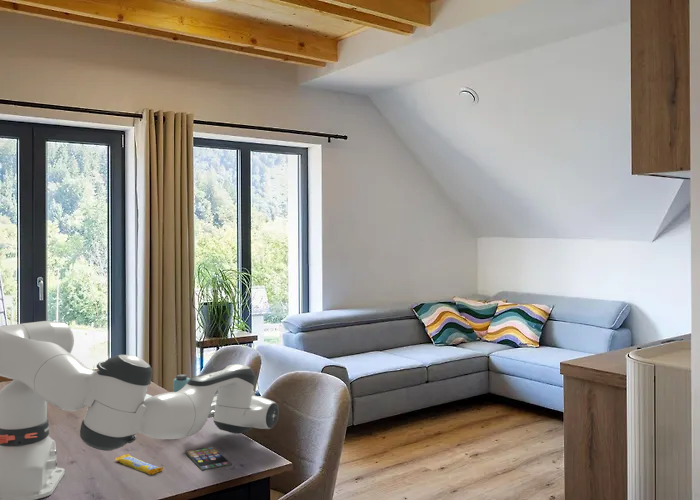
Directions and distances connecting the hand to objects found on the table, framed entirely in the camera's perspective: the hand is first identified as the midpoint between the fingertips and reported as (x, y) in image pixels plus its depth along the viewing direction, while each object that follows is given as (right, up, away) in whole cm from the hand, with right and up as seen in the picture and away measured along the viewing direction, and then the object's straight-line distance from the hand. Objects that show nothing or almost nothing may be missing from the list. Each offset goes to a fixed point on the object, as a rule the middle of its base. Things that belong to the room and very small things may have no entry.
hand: (203, 399), depth 198 cm
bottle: (-8, -9, +6) cm, 13 cm away
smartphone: (+7, -11, -25) cm, 28 cm away
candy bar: (-10, -11, -30) cm, 33 cm away
